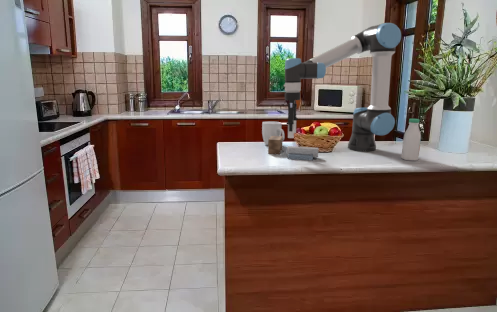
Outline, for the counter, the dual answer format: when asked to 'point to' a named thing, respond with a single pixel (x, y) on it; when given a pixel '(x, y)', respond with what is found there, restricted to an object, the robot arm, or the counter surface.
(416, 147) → the milk bottle
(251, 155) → the counter surface
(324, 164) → the counter surface
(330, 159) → the counter surface
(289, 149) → the shaft
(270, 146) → the bearing block
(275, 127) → the mug
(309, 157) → the cradle
